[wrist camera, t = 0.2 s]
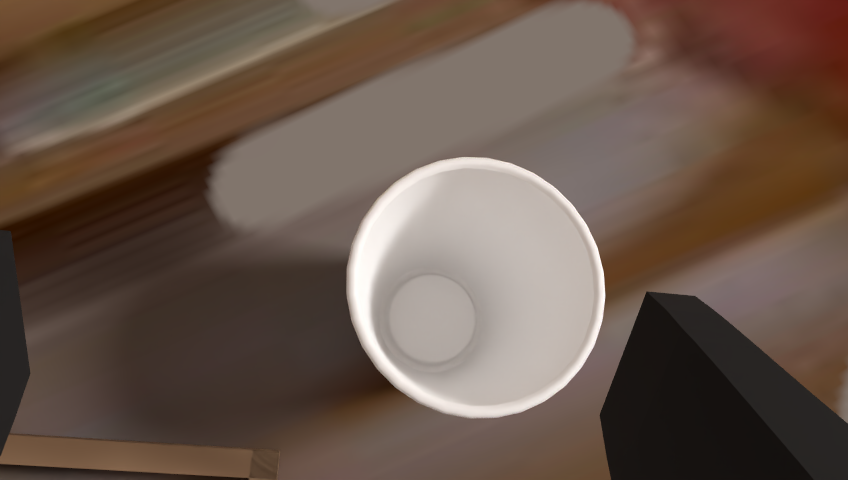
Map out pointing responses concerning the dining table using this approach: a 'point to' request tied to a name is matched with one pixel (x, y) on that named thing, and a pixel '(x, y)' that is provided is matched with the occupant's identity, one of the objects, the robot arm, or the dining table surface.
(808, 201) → the dining table surface
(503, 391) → the cup
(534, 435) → the dining table surface
